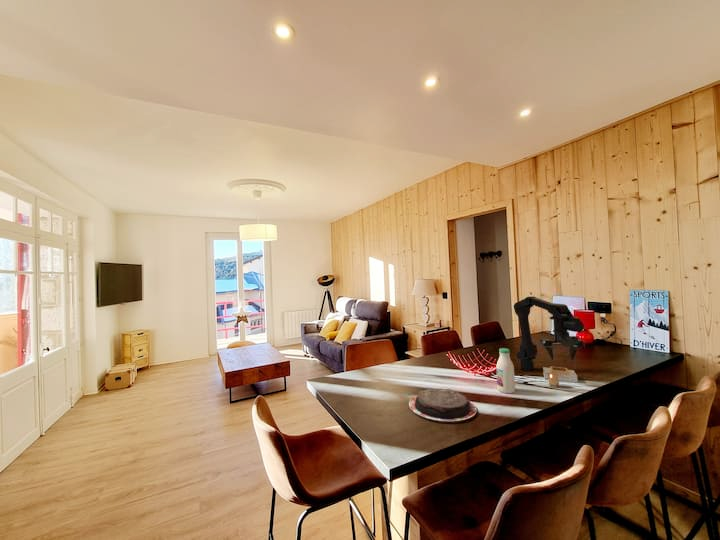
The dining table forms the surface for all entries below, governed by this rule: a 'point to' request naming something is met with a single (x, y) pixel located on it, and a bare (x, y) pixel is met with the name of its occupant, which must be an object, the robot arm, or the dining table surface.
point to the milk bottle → (505, 372)
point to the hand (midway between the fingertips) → (562, 359)
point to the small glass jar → (553, 380)
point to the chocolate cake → (442, 406)
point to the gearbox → (561, 374)
